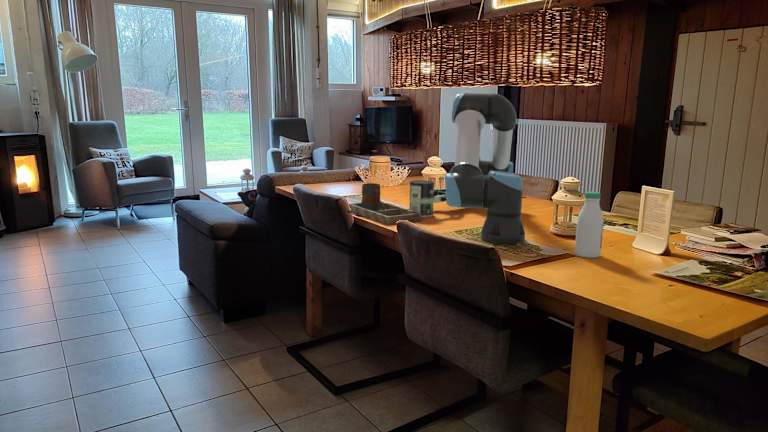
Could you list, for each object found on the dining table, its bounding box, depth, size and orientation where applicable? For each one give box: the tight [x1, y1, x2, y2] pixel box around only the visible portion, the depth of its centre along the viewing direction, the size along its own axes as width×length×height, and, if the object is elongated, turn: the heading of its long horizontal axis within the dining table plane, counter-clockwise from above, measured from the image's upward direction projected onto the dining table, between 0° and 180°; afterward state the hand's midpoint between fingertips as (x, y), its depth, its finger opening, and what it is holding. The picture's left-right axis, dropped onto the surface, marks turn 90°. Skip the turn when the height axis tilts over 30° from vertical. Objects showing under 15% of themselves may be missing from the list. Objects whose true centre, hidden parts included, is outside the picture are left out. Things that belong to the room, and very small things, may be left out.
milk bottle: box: [574, 190, 604, 259], centre depth 173 cm, size 8×8×20 cm
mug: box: [360, 182, 382, 211], centre depth 237 cm, size 9×12×12 cm
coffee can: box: [408, 179, 435, 218], centre depth 232 cm, size 10×10×14 cm
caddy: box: [348, 200, 422, 226], centre depth 231 cm, size 32×16×3 cm, turn 32°
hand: (422, 197), depth 233 cm, fingers open, 13 cm apart
